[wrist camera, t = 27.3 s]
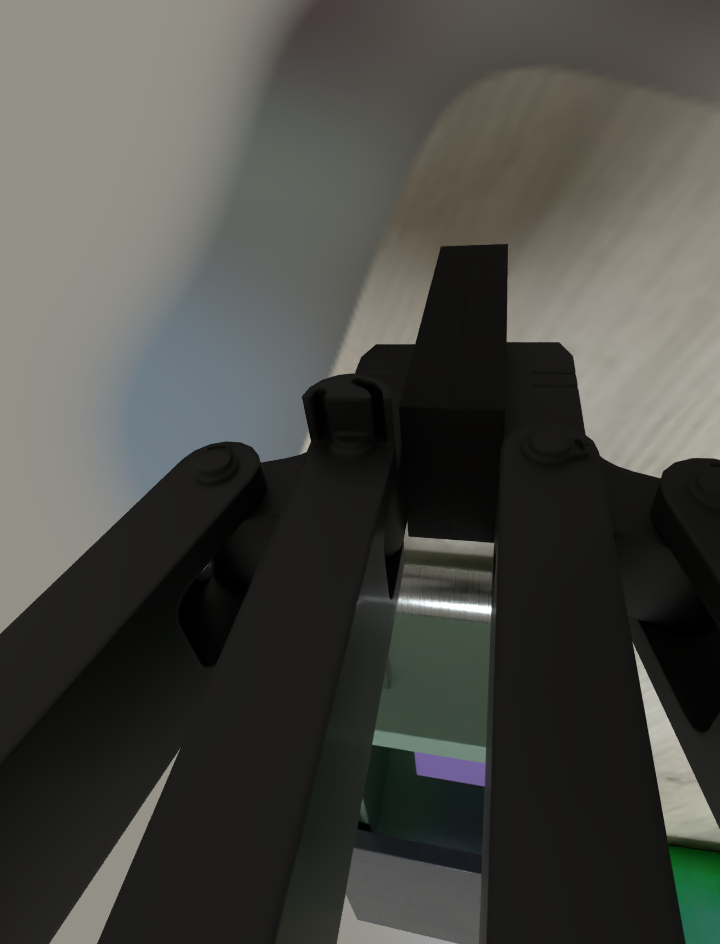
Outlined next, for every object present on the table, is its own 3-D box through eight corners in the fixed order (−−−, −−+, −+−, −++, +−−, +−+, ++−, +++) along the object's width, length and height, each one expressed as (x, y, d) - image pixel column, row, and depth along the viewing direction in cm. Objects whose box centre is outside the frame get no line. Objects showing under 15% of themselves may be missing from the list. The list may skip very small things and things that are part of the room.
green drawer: (323, 450, 21) (258, 613, 16) (656, 465, 19) (712, 665, 13) (373, 707, 34) (346, 845, 28) (574, 737, 31) (586, 895, 26)
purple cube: (524, 646, 25) (525, 747, 22) (517, 696, 28) (517, 792, 24) (424, 635, 26) (411, 729, 23) (427, 684, 29) (416, 775, 25)
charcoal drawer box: (361, 663, 32) (320, 841, 26) (594, 693, 30) (616, 903, 23) (382, 768, 42) (356, 919, 35) (561, 799, 39) (570, 970, 32)
